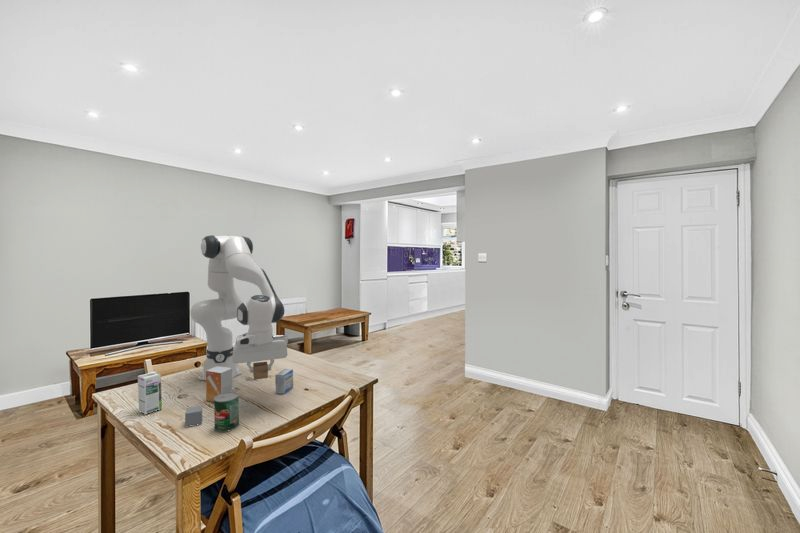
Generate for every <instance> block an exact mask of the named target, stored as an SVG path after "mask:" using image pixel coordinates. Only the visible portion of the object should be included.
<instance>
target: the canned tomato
mask: <svg viewBox="0 0 800 533" xmlns="http://www.w3.org/2000/svg"><path fill="white" fill-rule="evenodd" d="M239 396H240V395H239V393H238V392H235V391H233V392H226V393H222V394H219V395H217V396H215V397H214V402H213V404H214V405H213V407H214V408H213V409H214V410H213V411H214V412H213V413H214V414H213V415H214V430H215V432H217V431H220V432H219V433H223V432H222V431H227V432H229V431H228V430H231V431H233V430H235V429H237V428H238V427H239V426H240V413H239V412H240V409H239V408H240V406H239V404H240V402H239V401H240V400H239ZM232 429H233V430H232Z"/></svg>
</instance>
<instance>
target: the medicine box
mask: <svg viewBox="0 0 800 533" xmlns="http://www.w3.org/2000/svg"><path fill="white" fill-rule="evenodd" d="M274 376H275V379H274V380H275V385H274V386H275V394H278V395H279V394H280V395H285V394H287V393H288V392H289V391H290V390H292V389H293V388H294V369H292V368H284V369H283V370H281V371H279V372H278V373H275V375H274Z"/></svg>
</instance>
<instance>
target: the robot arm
mask: <svg viewBox="0 0 800 533" xmlns="http://www.w3.org/2000/svg"><path fill="white" fill-rule="evenodd" d="M200 249H201V254H202V255H203V256H204V257H205V258H206V259H208V268H207V286H208V288H209V289H210V290H211V291H213V292H216V293H217V294H218V298H214V299H205V300H201V301H199V302H198V301H197V302H195V303H193V304H192V306H191V308H190V317H191V319H192V320H193V321H194V323H196V324H199V325H200V326H201V327H202V328H203V330H204V332H205V335H206V343H207V347H206V352H205V354H206V359H205V360H204V361H203V363H202V365H203V366H202V372H201V374H200V375H199V376H198V380H199V381H202V380H203V381H206V371H207V370H209V369H211V368H214V367H217V366H220V367H227V368H232V379H233V378H235V377H236V376H239V375H241V374H242V371H241V369H240V368H239V367H238V364H244V363H246V366H247V367H248V369H249V373H250V374H251V373H252V374H253V372H254V367H253V366H252V363H256V362H264V361H270V363H268V372H269V371H272V366H273V365H274V364H275V360H278V359H286V358H287V357H288V346H287V345H288V344H289V339H288V338H289V337H288V335H287V336H286V335H284V334H281V335H280V334H279V335H278V334H277V335H273V332H274V331H273V324H276V323H277V324H278V323H279V322H280V321H281V320H282V319H283V318H284V315H285V306H284V304H283V302H282V301H281V299H280V298H279V296H278V295H277V293H276V291H275V289H274V287H273V284H272V283H271V281H270V279H269V276H268V275H267V273H266V271H265V270H264V269H263V268H262V267H259V265H258V264H256V262H255V261H254V259H253V255H252V254H253V251H254V244H253V242H252V239H250V237H246V236H239V235H229V234H227V235H214V234H213V235H211V234H210V235H206V236H205V237H203V238H202V240H201V243H200ZM234 279H236V280H239V281H243V282H247V283H250V284H253V285H255V286H257V287H258V288H259V290H260V292H261V294H256V295H252V296H250V298H249V300H247V301H245V300H244V299H243V298H242V297H240V296H239V294H237V292H236V290H235V287H234ZM233 319H236V320H237V321H238V322H239V324H241V325H243V326H248V332H245V333H242V334H240V335H237V336H236V337H235V344H234V343H233V332H232V330H230V328H226V327H224V326H223V325H222V322H223V321H227V320H233ZM233 344H234V346H233Z"/></svg>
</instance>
